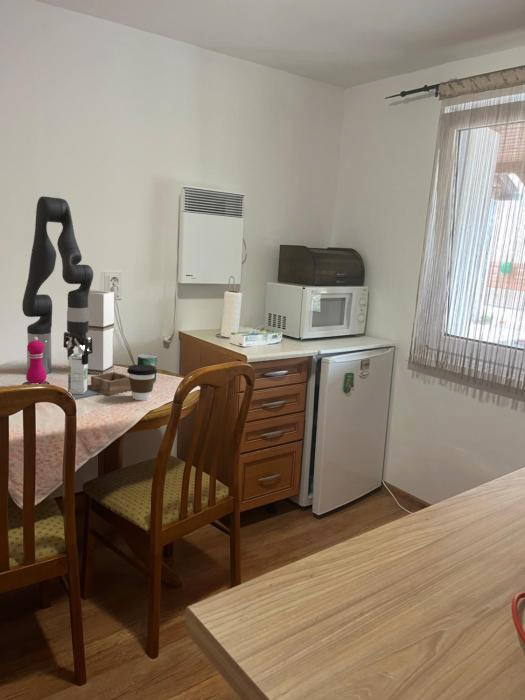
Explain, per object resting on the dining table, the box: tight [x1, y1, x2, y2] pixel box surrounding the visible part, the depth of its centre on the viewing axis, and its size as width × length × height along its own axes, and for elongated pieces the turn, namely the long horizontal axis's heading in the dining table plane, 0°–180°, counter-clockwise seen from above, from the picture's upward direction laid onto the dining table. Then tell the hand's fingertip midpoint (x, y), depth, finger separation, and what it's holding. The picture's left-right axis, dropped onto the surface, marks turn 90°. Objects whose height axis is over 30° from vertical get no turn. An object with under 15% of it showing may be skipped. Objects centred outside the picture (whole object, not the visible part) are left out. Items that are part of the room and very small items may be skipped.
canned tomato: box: [137, 353, 158, 383], centre depth 224 cm, size 8×8×11 cm
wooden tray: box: [87, 371, 132, 397], centre depth 210 cm, size 14×14×5 cm
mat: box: [72, 389, 101, 401], centre depth 201 cm, size 11×11×1 cm
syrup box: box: [67, 352, 88, 394], centre depth 200 cm, size 6×6×14 cm
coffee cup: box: [126, 364, 158, 401], centre depth 200 cm, size 11×11×12 cm
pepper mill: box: [25, 337, 47, 384], centre depth 204 cm, size 7×7×20 cm
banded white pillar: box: [77, 289, 115, 375], centre depth 232 cm, size 11×11×35 cm
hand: (77, 362), depth 199 cm, fingers open, 8 cm apart
